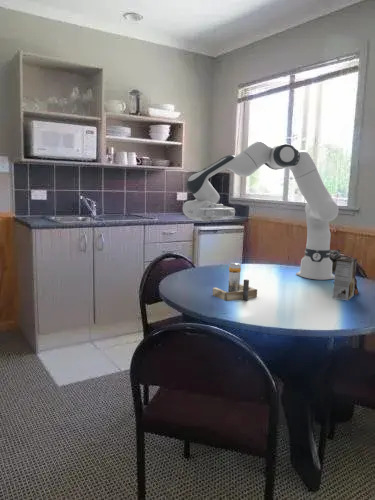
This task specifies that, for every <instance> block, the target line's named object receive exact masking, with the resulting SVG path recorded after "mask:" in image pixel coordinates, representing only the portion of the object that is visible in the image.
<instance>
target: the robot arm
mask: <svg viewBox="0 0 375 500" xmlns="http://www.w3.org/2000/svg"><path fill="white" fill-rule="evenodd" d="M263 165H265V166H267V167H268V168H269V169H271V170H282V169H285V168H288V169H289V170H290V171H291V173H292V174H293V177H294V180H295V182H296V185H297V187H298V190H299V192H300V194H301V195H302V197H304V199H305V201H306V205H305V206H304V212H305V215H306V216H305V218H306V220H305V221H306V231H307V233H306V235H307V236H306V246H305V249H304V256H303V257H302V258H301V261H300V268H299V270H298V271H297V272H296V273H295V275H296V276H299V277H303V278H305V279H310V280H322V281H324V280H334V278H335V274H334V273H333V272H332V261H331V260H330V258H329V257H330V250H331V248H330V247H331V235H332V232H331V230H330V222H331V221H333V220H335V219H336V218H337V217H338V215H339V210H340V209H339V206H338V204H337V203H336V202H335V201H334V199H333V198H332V196H331V194H330V192H329V191H328V188H326V186H325V184H324V181H323V180H322V178H321V175H320V173H319V170H318V168H317V166H316V164H315V162H314V160H313V158H312V157H311V155H310V154H309V152H308V151H306V150H298V149H297V148H295V147H294V146H293V145H291V144H290V143H280V144H277V145H275V146H273V147H271V146H269V144H267V142H265V141H264V140H257V141H255V142H254V143H252V144H250V145H249V146H247V147H246V148H245V149H243V151H241V152H240V153H238V154H236V155H233V154H228V155H226V156H223V157H222V158H221V157H220V158H219V159H218V160H216V161H215V162H213V163H212V164H209V165H208V166H207V167H205V168H203V169H201V170H200V171H198V172H195V173H194V174H192V175H190V176H189V177H188V178H187V180H186V189H187V191H189V192H190V193H191V195H193V196H194V198H195V199H194V200H193V199H192V200H187V201H185V202H184V203H183V205H182V213H183V214H184V215H185V216H186V217H187V218H189V219H191V220H196V221H202V222H210V221H213V220H219V219H220V220H221V219H223V218H233V217H235V216H236V215H235V214H236V209H235V207H231V206H226V205H224V204H222V203H220V199H221V195H220V194H219V192H218V191H217V190H216V189H215V188H214V187H213V185H212V183H211V182H210V181H209V179H210V178H211V177H213V176H214V175H216V174H218V173H220V172H221V171H223V170H228V171H230V172H232V173H234V174H235V175H237V176H239V177H243V178H245V177H249V176H251V175H253V174H254V173H255V172H256V171H257V170H258V169H260V168H261V167H262V166H263Z"/></svg>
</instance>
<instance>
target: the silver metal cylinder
mask: <svg viewBox="0 0 375 500" xmlns="http://www.w3.org/2000/svg"><path fill="white" fill-rule="evenodd" d="M241 272H242V266H241V263H239V262H229V265H228V287H227V288H228V289H227V292H233V291H239V287H240V283H241Z"/></svg>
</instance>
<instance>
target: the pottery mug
mask: <svg viewBox="0 0 375 500" xmlns="http://www.w3.org/2000/svg"><path fill="white" fill-rule="evenodd" d="M357 283H358V280H357V279H356V277H355V286H354V296H356V295H358V294H359V289H358V284H357ZM333 284H334V281H333Z"/></svg>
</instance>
